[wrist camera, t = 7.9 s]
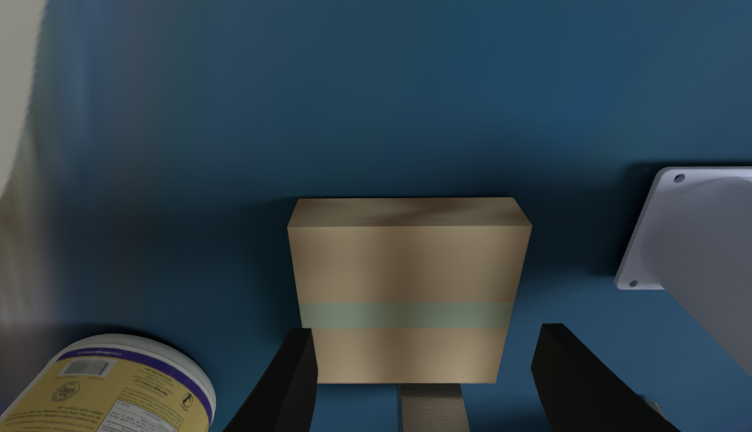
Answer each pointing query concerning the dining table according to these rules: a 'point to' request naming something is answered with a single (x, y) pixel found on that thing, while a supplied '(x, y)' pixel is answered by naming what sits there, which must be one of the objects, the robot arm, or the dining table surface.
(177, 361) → the supplement tub
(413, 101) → the dining table surface
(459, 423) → the column
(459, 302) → the green-striped tan block
